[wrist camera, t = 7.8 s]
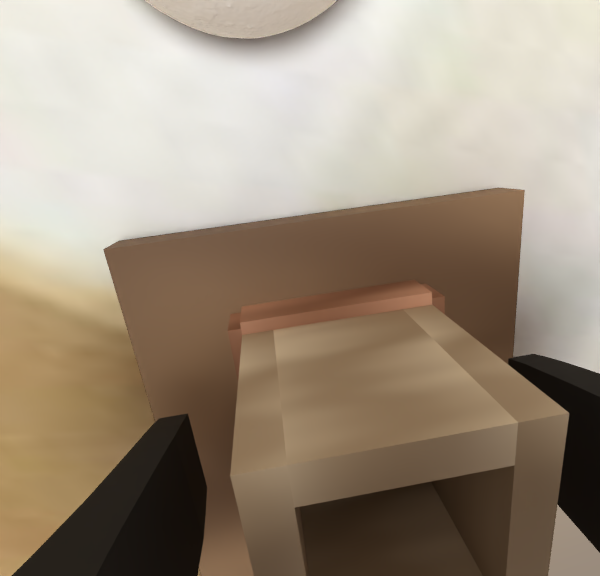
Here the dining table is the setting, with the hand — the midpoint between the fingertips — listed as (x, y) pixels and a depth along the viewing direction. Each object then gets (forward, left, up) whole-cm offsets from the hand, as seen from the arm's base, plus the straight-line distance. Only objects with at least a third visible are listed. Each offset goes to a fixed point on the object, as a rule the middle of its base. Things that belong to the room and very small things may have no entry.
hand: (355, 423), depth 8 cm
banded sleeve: (0, 0, -2) cm, 2 cm away
